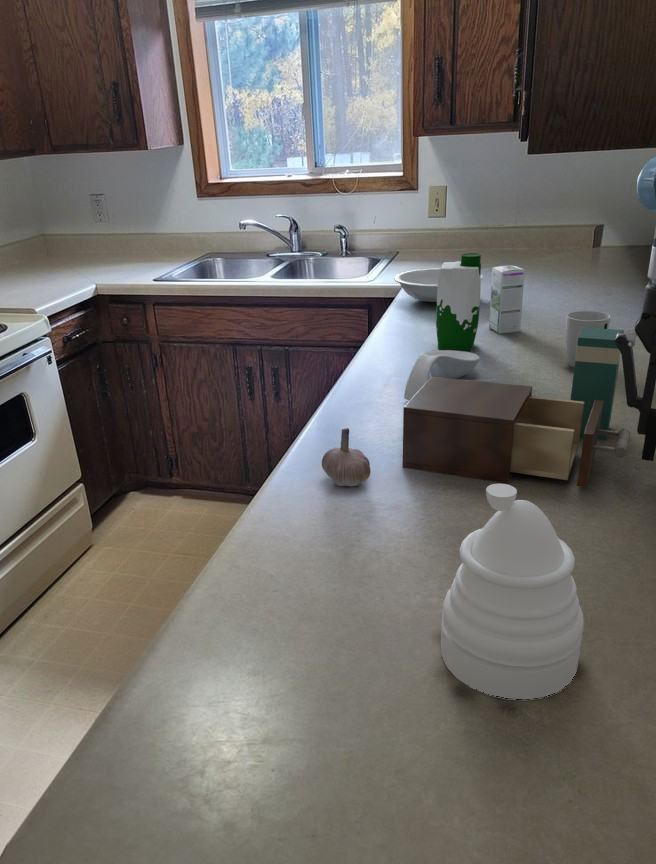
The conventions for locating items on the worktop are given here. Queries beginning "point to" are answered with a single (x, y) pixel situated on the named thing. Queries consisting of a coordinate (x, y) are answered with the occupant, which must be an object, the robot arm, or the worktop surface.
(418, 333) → the worktop surface
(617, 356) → the carton
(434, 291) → the soup bowl
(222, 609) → the worktop surface
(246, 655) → the worktop surface
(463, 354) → the spoon rest
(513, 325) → the syrup box
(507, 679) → the honey pot
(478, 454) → the cabinet
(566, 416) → the drawer
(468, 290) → the milk carton
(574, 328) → the cup
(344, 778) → the worktop surface
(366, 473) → the garlic bulb
